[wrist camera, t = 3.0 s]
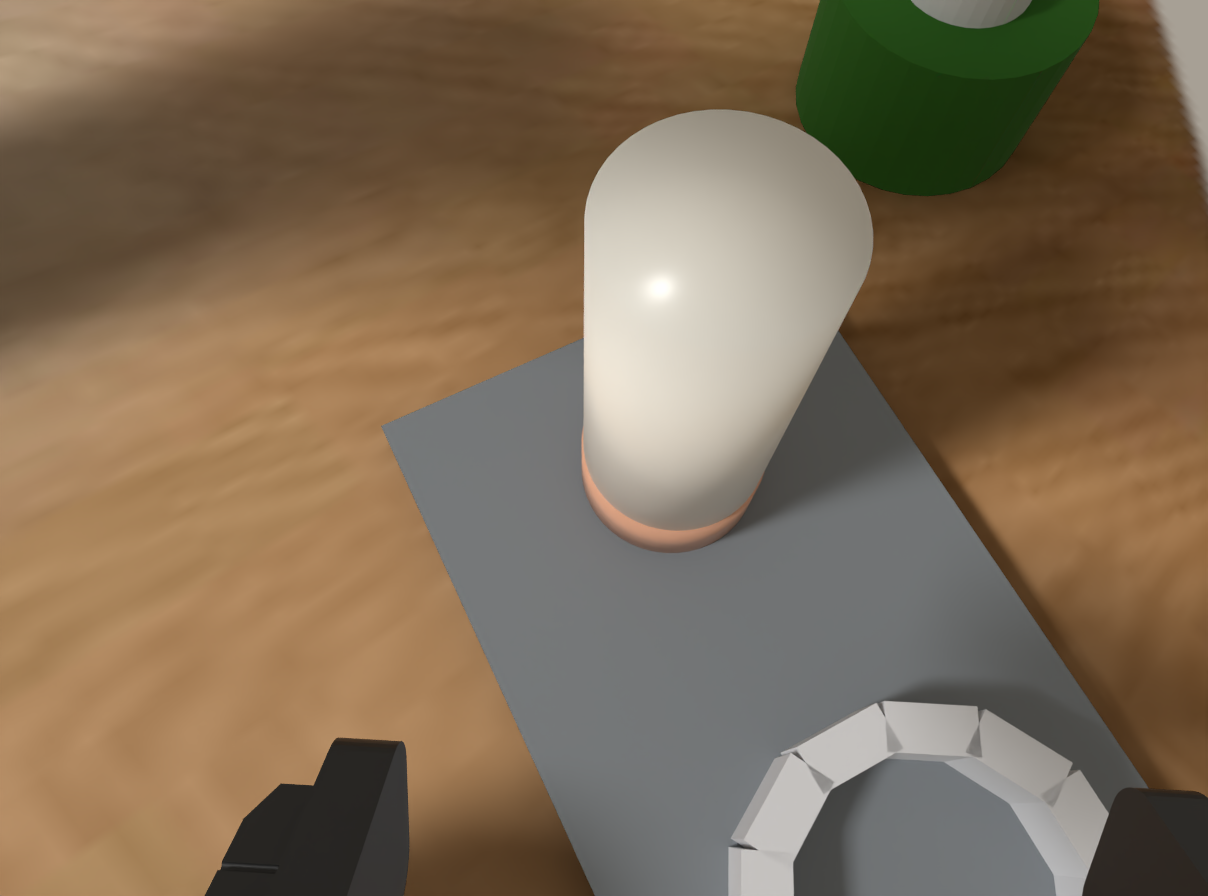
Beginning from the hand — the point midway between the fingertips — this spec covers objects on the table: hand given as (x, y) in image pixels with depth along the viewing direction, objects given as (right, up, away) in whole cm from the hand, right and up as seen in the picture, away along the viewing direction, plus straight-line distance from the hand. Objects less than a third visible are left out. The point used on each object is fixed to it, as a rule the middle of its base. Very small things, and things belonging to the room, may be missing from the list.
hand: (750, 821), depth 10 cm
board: (+3, -3, +15) cm, 16 cm away
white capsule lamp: (0, +4, +17) cm, 17 cm away
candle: (+9, +17, +24) cm, 30 cm away
